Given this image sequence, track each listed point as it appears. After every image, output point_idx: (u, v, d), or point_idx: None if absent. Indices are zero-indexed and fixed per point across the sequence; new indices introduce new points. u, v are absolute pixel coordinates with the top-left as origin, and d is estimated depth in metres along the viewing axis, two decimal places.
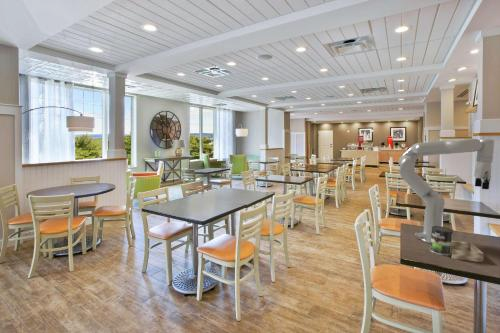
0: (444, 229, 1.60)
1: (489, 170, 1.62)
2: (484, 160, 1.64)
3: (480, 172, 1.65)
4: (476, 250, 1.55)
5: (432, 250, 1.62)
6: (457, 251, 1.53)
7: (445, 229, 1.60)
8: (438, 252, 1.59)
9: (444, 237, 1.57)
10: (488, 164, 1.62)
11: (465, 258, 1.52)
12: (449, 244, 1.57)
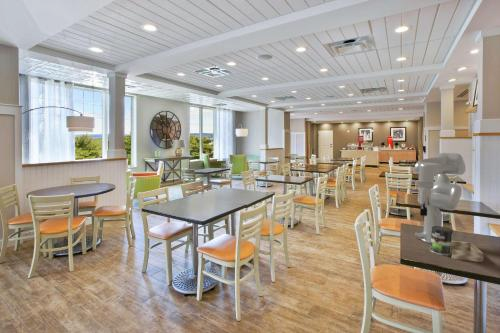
0: (444, 229, 1.60)
1: (429, 196, 1.57)
2: (424, 186, 1.59)
3: (421, 198, 1.60)
4: (476, 250, 1.55)
5: (432, 250, 1.62)
6: (457, 251, 1.53)
7: (445, 229, 1.60)
8: (438, 252, 1.59)
9: (444, 237, 1.57)
10: (428, 190, 1.57)
11: (465, 258, 1.52)
12: (449, 244, 1.57)
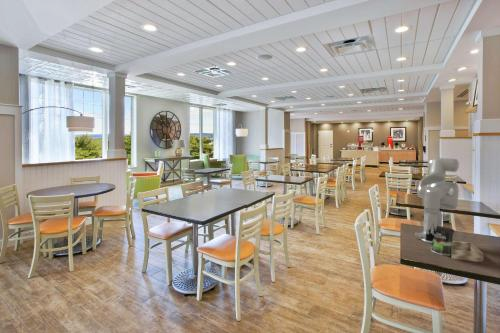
0: (445, 229, 1.60)
1: (435, 222, 1.58)
2: (430, 211, 1.59)
3: (426, 223, 1.60)
4: (476, 250, 1.55)
5: (433, 250, 1.61)
6: (457, 251, 1.53)
7: (446, 229, 1.60)
8: (439, 252, 1.58)
9: (445, 237, 1.56)
10: (434, 216, 1.58)
11: (465, 258, 1.52)
12: (450, 244, 1.57)
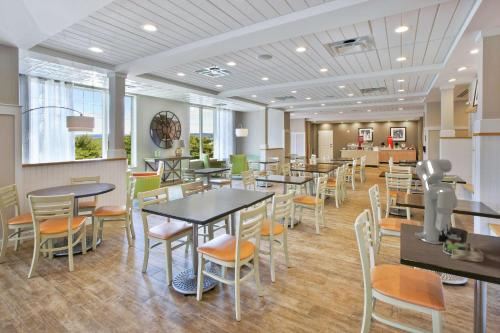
0: (458, 230, 1.58)
1: (448, 223, 1.55)
2: (443, 212, 1.57)
3: (439, 224, 1.58)
4: (476, 250, 1.55)
5: (447, 252, 1.59)
6: (457, 251, 1.53)
7: (459, 230, 1.59)
8: None
9: (461, 239, 1.54)
10: (447, 217, 1.55)
11: (465, 258, 1.52)
12: (464, 245, 1.55)
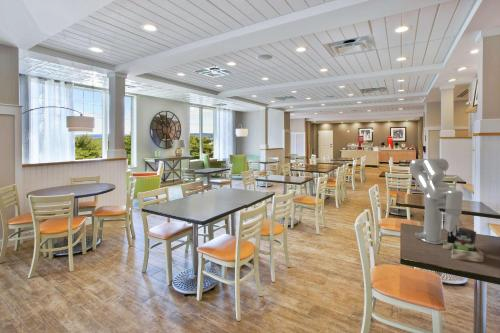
0: (466, 231, 1.58)
1: (457, 224, 1.54)
2: (452, 213, 1.55)
3: (448, 225, 1.56)
4: (476, 250, 1.55)
5: None
6: (457, 251, 1.53)
7: (467, 230, 1.58)
8: None
9: (471, 239, 1.53)
10: (456, 217, 1.54)
11: (465, 258, 1.52)
12: None
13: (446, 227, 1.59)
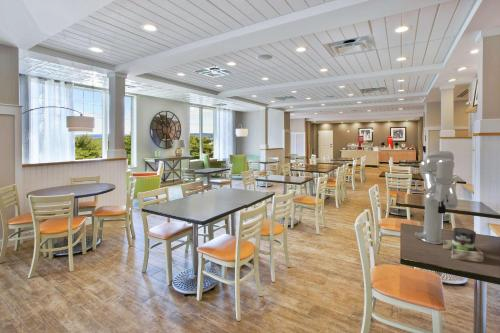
0: (466, 231, 1.58)
1: (448, 193, 1.52)
2: (443, 182, 1.53)
3: (439, 195, 1.54)
4: (476, 250, 1.55)
5: None
6: (457, 251, 1.53)
7: (467, 231, 1.58)
8: None
9: (470, 240, 1.54)
10: (447, 187, 1.52)
11: (465, 258, 1.52)
12: (473, 246, 1.55)
13: (437, 197, 1.58)
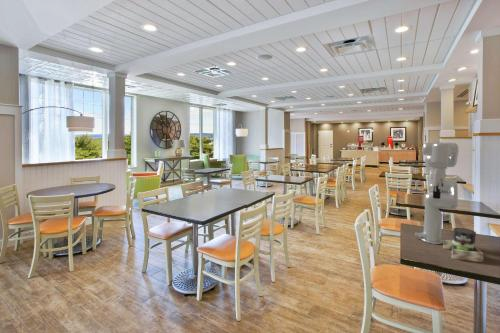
0: (466, 231, 1.58)
1: (443, 177, 1.48)
2: (438, 166, 1.50)
3: (434, 179, 1.51)
4: (476, 250, 1.55)
5: None
6: (457, 251, 1.53)
7: (467, 231, 1.58)
8: None
9: (470, 240, 1.53)
10: (442, 171, 1.48)
11: (465, 258, 1.52)
12: (473, 246, 1.55)
13: (432, 182, 1.54)
